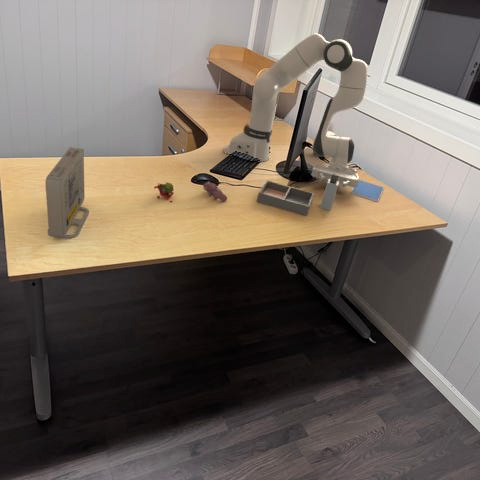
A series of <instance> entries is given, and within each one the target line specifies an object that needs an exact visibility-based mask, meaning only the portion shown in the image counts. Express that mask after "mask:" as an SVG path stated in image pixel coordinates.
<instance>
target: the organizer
mask: <svg viewBox="0 0 480 480" xmlns="http://www.w3.org/2000/svg"><path fill="white" fill-rule="evenodd" d="M314 196H315V192H310V191H307V190H304V189H301V188H296V187H292V186H289V185H285V184H283V183H282V184H281V183H277V182H275V181H274V182H273V181H270V180H266V181H265V183H264V184H263V185H262V187H261V188H260V190H259V192H258V194H257V199H256V203H258V204H261V205H265V206H266V205H267V206H270V207H273V208H277V209H280V210H285V211H288V212H290V213H294V214H298V215H301V216H305V217H307V216H308V214H309V210H310V208H311V205H312V203H313V199H314Z"/></svg>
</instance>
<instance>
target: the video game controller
mask: <svg viewBox="0 0 480 480" xmlns="http://www.w3.org/2000/svg"><path fill="white" fill-rule="evenodd" d="M202 187H203V190H204V191H206V192H207V195H208V196H209V197H212V198H213V199H214V200H219V201H221V202H226V201H227V200H228V196H227V195H226V194H224V193H223V191H222V190H221V189H220V187H218V186H217V184H215V183H213V182H210V181H207V182H205V183H204V184H202Z"/></svg>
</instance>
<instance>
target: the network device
mask: <svg viewBox="0 0 480 480" xmlns="http://www.w3.org/2000/svg"><path fill="white" fill-rule="evenodd" d="M84 150H85V149H84V148H79V147H72V146H71V147H68V149H67V150H66V152H65V153H64V154H63V155H62V157H61V158H60V159H59V161H58V162H57V163H56V164H55V166H54V167H53V168H52V170H51V171H50V172H49V173H48V175H47V176H46V178H45V195H46V196H45V200H46V208H47V209H46V210H47V211H46V212H47V223H48V224H47V225H48V229H47V235H48V236H49V237H52V238H57V239H58V238H59V239H65V240H68V239H74V238H76V237H78V236H79V235H80V234H81V233H80V232H81V231H82V228H83V226H84V225H85V223H86V221H87V218H88V216H89V214H90V210H89V208H87V207H83V206H82V205H83V203H84V201H85V159H84V158H85V153H84ZM79 211H81V212H85V213H84V214H83V217H82V218H76V216H77V214H78V213H79ZM71 226H76V227H77V229H76V230H75V232H74V234H67V233H68V231H69V229H70V227H71Z"/></svg>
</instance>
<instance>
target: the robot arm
mask: <svg viewBox="0 0 480 480" xmlns="http://www.w3.org/2000/svg"><path fill="white" fill-rule="evenodd" d="M320 61H324V62H325V64H326V65H327V66H328V67H330V68H331V69H334V70H336V71H338V72H339V74H340V80H339V86H338V89H337V92H336V94H335V95H334V96H333V97H331V98H330V99H329V100H328V102H327V104H326V107H325V109H324V113H323V115H322V119H321V121H320V125H319V128H318V131H317V133H316V136H315V137H314V139H313V142H312V145H311V147H312V152H313V153H314V154H315V156H317V157H327V158H331V159H329V160H330V161H329V162H328V165H327V166H325V165H321V164H317V165H314V166H313V167H312V171H311V174H310V175H311V176H312V177H313V178H317V179H319V180H320V181H321V182H324V181H328V179H331V176H332V174H337V175H339V177H338V180H337V181H338V182H339V184H340V185H341V186H342V187H343V188H346V187H351V188H355V187H357V185H358V181H359V180H360V177H359V174H358V170H357V169H356V168H353V167H350V166H349V163H351V162H352V160H353V157H354V151H355V142H354V141H353V139H352V138H351V137H346V136H339V135H338V136H337V135H336V136H332V135H328V134H327V131H329V127H330V124H331V122H332V119H333V117H334V116H335V114H338V113H340V112H343V111H348V110H352V109H354V108H355V107H358V106H359V105H360V104H361V103H362V101H363V99H364V96H365V92H366V87H367V82H368V81H367V80H368V64H367V63H366V62H365V61H363V60H362V59H358V58H355V57H353V48H352V45H351V44H350V43H349V42H348V41H347V40H345V39H341V38H340V39H339V38H337V39H334V40H331V41H327V40H326V38H325V37H324V36H323V35H322V34H319V33H312V34H311V35H309V36H308V37H306V38H304V39H303V40H301V41H300V42H298V43H297V44H296V45H295V46H294V47H293V48H292V49H290V50H289V51H287V53H285V55H283V56H282V57H281V58H280V59H279V60H278V61H276V62H275V63H273V65H272V66H271V67H269V68H268V69H267V70H266V71H265V72H263V73H262V74H261V75H260V76H258V78H256V80H255V82H254V84H253V91H252V98H251V99H252V100H251V111H250V116H249V122H248V123H246V124H245V125H244V126H243V130H242V131H243V132H241V133H239V134H236V135H235V136H233V137H232V139H231V140H230V141H229V143H228V144H227V145H226V146H225V147H223V153H224V152H226V153H229V154H231V153H232V152H235V151H237V152H241V153H245V154H248V155H250V156H253V157H254V158H258V159H260V161H259V162H267V161H269V160H268V159H270V156H269V155H270V153H269V152H270V142H271V139H272V136H273V123H274V119H275V116H276V106H277V101H278V96H279V93H280V92H282V91H283V90H284V89H285V88H287V87H288V86H290V85H291V84H292V83H293V82H294V81H296V80H297V79H299V78H300V77H301V76H302V75H304V74H305V73H307V71H309V70H310V69H311V68H312V67H313V66H314V65H316V64H317V63H319V62H320ZM226 153H225V154H226ZM229 154H228V155H229Z"/></svg>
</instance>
